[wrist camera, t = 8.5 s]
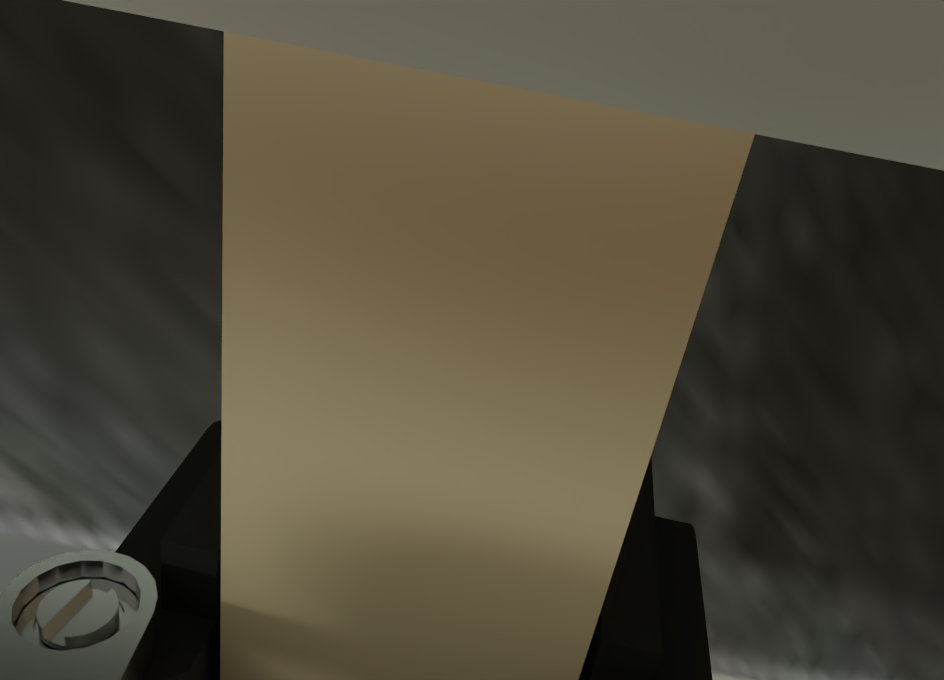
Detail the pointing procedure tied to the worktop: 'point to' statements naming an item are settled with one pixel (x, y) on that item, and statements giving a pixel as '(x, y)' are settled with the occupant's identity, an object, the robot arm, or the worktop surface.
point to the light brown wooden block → (487, 293)
